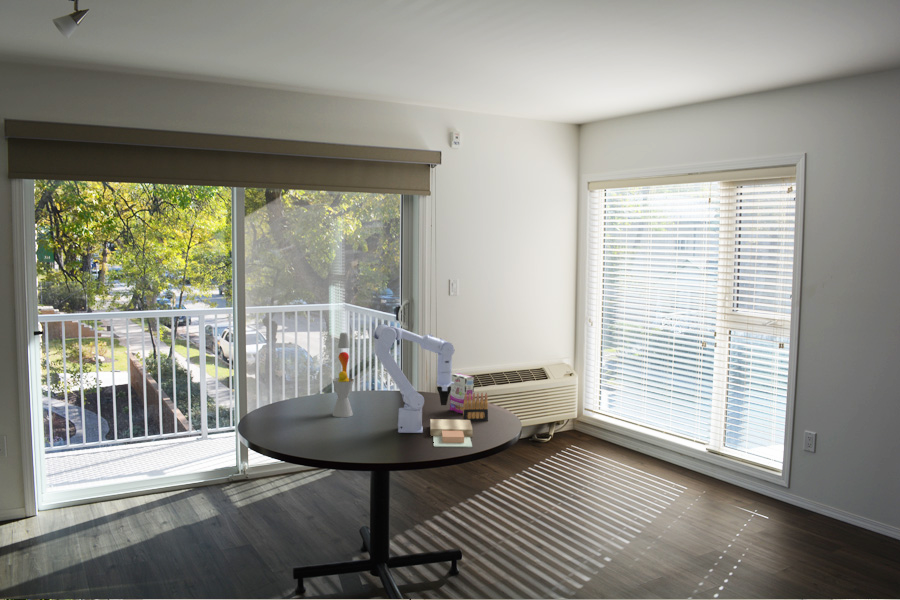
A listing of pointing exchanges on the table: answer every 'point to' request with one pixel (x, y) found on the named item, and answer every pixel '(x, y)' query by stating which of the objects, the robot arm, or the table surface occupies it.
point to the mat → (438, 443)
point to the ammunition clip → (473, 412)
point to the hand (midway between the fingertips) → (443, 404)
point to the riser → (450, 426)
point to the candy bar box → (460, 391)
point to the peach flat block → (452, 437)
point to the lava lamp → (343, 382)
